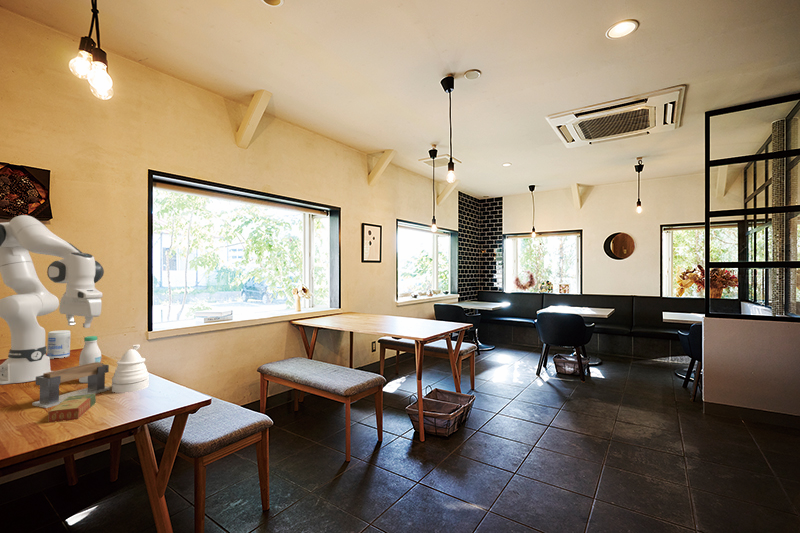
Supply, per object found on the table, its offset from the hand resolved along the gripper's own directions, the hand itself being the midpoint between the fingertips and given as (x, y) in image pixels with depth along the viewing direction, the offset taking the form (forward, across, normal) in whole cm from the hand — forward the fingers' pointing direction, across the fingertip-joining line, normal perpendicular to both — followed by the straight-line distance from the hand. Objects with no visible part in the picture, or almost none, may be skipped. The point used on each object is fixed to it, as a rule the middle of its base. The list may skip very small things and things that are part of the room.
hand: (78, 326), depth 150 cm
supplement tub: (+29, -77, +35) cm, 90 cm away
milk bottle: (+28, -14, +13) cm, 34 cm away
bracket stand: (+27, +3, -2) cm, 28 cm away
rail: (+20, +3, -2) cm, 20 cm away
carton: (+28, +20, -12) cm, 36 cm away
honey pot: (+27, +13, +13) cm, 33 cm away
